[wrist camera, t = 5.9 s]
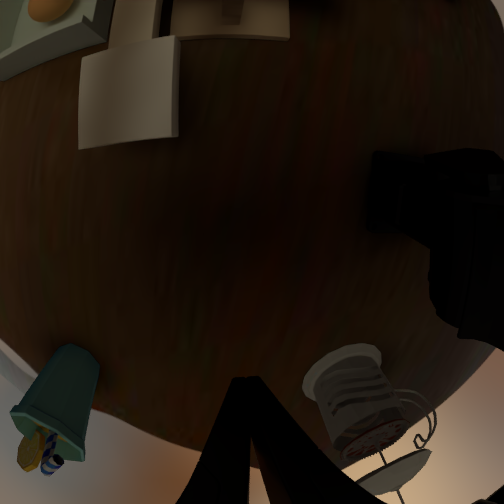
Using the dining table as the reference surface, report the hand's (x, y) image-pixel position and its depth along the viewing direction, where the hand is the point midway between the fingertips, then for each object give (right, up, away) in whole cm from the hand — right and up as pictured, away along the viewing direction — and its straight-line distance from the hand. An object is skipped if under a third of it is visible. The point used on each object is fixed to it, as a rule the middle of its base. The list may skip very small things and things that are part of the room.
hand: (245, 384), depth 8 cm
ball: (-15, +23, 0) cm, 27 cm away
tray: (-16, +24, +2) cm, 29 cm away
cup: (-17, -7, +15) cm, 24 cm away
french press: (+11, -9, +20) cm, 24 cm away
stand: (-1, +24, +4) cm, 25 cm away
